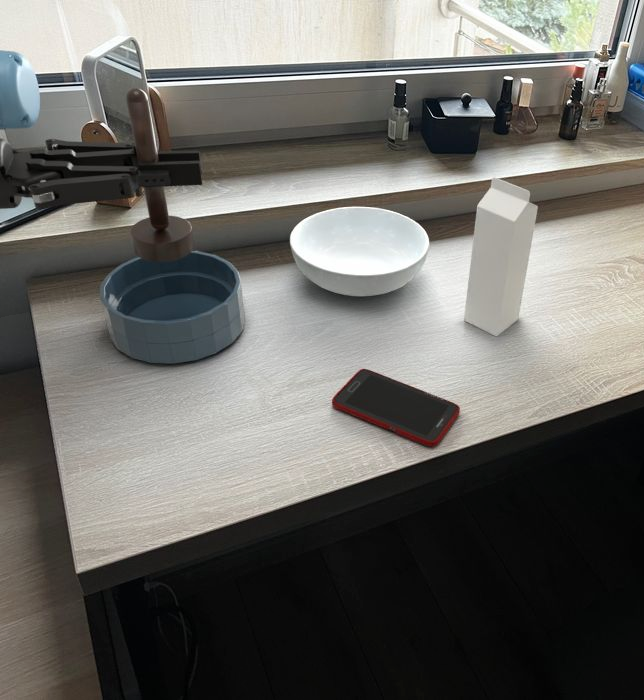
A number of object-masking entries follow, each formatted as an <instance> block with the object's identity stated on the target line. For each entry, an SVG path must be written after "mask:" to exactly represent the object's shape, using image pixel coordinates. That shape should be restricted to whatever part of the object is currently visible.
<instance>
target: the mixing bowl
mask: <svg viewBox="0 0 644 700" xmlns="http://www.w3.org/2000/svg"><path fill="white" fill-rule="evenodd" d="M99 300H100V304H101V307H102V311H103V315H104V318H105V323H106V327H107V330H108V335H109V338H110V340H111V342H112V343H113V344H114V346H115V348H116V349H117V350H118V351H120V352H122V353H123V354H125V355H126V356H128V357H130V358H131V359H135V360H139V361H143V362H147V363H151V364H180V363H184V362H185V363H186V362H193V361H198V360H201V359H203V358H207V357H209V356H211V355H215V354H217V353H218V352H221V351H222V350H223V349H225V348H227V347H228V346H229V345H231V344H233V343H234V342H235V340H236V339H237V338H238V337H239V336H240V335H241V333H242V332H243V328H244V325H245V322H246V314H245V313H246V312H245V305H244V297H243V287H242V280H241V276H240V273H239V271H238V270H237V268H236V267H234V265H233V264H232V263H231V262H230V261H229V260H226V259H225V258H222V257H220V256H218V255H216V254H212V253H208V252H204V251H199V250H193V251H192V252H191V253H190V254H188V255H187V256H185V257H183V258H181V259H178V260H174V261H169V262H152V261H147V260H144V259H142V258H140V257H138V256H137V257H134V258H132V259H129V260H128V261H126V262H123V263H121V264H120V265H118V266H117V267H116V268H114V269H112V271H110V272H109V273H108V274H107V275H106V276H105V278H104V279H103V281H102V283H101V284H100V286H99Z"/></svg>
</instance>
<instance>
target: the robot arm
mask: <svg viewBox="0 0 644 700" xmlns="http://www.w3.org/2000/svg"><path fill="white" fill-rule="evenodd" d="M39 87H40V86H39V82H38V79H37V75H36V73H35V70H34V68H33V66H32V65H31V63H30V61H29V60H28V58H26V57H25V55H23V54H22V53H20V52H17V51H14V50H13V51H12V50H3V49H0V130H1V131H5V130H12V129H13V130H14V129H29V128H31V127H33V126H34V125H35V124H36V122H37V121H38V118H39V116H40V110H41V95H40V94H41V93H40V88H39ZM44 143H45V146H46V148H34V149H29V150H24V151H16V150H15V149H14V148H13V147H12V145H11V144H10V142H9V141H7V140H6V139H5V138H0V210H7V209H8V210H9V209H16V208H18V207H19V206H20V205H21V202H22V199H23V198H27V199H32V201H33V204H34V207H35V209H36V210H46V209H50V208H54V207H58V206H59V207H60V206H66V205H75V204H85V203H86V204H87V203H95V202H105V201H115V200H116V201H117V200H126V199H132V198H134V197H135V198H139V197H142V196H143V193H144V192H143V189H142V188H143V187H163V186H164V187H184V186H203V178H202V177H203V176H202V174H203V169H202V163H201V162H202V161H201V156H200V150H198V149H194V150H192V149H191V150H157V152H158V158H159V162H138V157H137V152H136V147H135V142H103V141H70V140H69V141H68V140H61V139H56V138H48V139H45V141H44Z"/></svg>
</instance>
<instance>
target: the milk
mask: <svg viewBox="0 0 644 700" xmlns="http://www.w3.org/2000/svg"><path fill="white" fill-rule="evenodd" d="M530 197H531V192H530V191H529V190H528V189H525V188H523V187H520V186H518V185H516V184H513V183H511V182H508V181H505V180H504V179H500V178H498V177H495V176H494V177H492V178H491V182H490V187H489V189H488V190H487V192H485V194H484V196H483V197H482V199H480V201H479V202H478V204H477V206H476V213H475V223H474V229H473V230H474V231H473V238H472V246H471V247H472V248H471V256H470V265H469V273H468V280H467V281H468V282H467V289H466V298H465V306H464V315H463V321H464V322H467V323H468V324H470V325H472V326H474V327H476V328H478V329H481V330H483V332H486V333H488V334H491V335H493V336H494V337H498V336H499V335H501V334H502V333H504V332H505V330H507V329H509V327H510V326H512V325H513V324H514V323H515V322H517V321H518V320H519V317H520V312H521V306H522V300H523V294H524V289H525V283H526V277H527V271H528V265H529V259H530V255H531V248H532V243H533V238H534V231H535V226H536V220H537V215H538V208H539V206H538V205H536V204H535V203H532V202H530Z"/></svg>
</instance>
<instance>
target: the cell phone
mask: <svg viewBox="0 0 644 700" xmlns="http://www.w3.org/2000/svg"><path fill="white" fill-rule="evenodd" d="M331 406H332V407H333V408H336V409H337V410H340V411H342V412H345V413H347V414H350V415H352V416H354V417H356V418H359V419H362V420H364V421H366V422H369V423H370V424H371V423H372V424H374V425H377V426H379V427H381V428H384V429H386V430H389V431H391V432H394V433H395V434H397V435H400V436H402V437H405V438H407V439H409V440H412V441H415V442H417V443H420V444H422V445H424V446H427V447H431V448H433V447H436V446H437V445H438V444H440V442H441V440H442V439H443V438H444V436H445V435H446V434H447V432H448V430H449V429H450V428H451V426H453V424H454V422H455V421H456V420H457V418H458V416H459V415H460V412H461V407H460V406H459V405H458V404H457V403H455V402H452V401H451V400H448V399H445V398H443V397H440V396H437V395H435V394H432V393H429V392H427V391H424V390H422V389H420V388H417V387H415V386H411V385H410V384H406V383H404V382H402V381H398V380H396V379H395V378H391V377H389V376H387V375H384V374H381V373H379V372H376V371H373V370H371V369H367V368H361V369H359V370H358V371H357V372H355V374H354V375H352V377H350V379H349V380H348V381H347V382H346V383H345V384H344V385H343V386H342V387H341V388H340V389H339V390H338V392H336V394H334V396H333V397H332V398H331Z"/></svg>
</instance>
